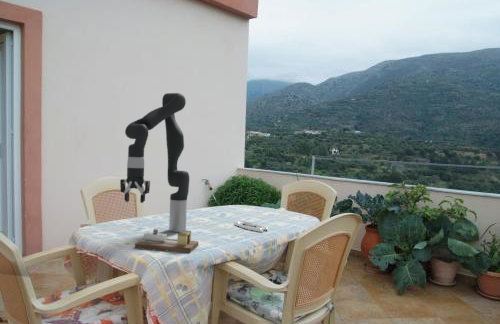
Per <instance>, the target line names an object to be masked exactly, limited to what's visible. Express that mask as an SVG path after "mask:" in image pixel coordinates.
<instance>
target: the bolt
mask: <svg viewBox="0 0 500 324" xmlns="http://www.w3.org/2000/svg"><path fill="white" fill-rule="evenodd" d="M143 239H144V240H147V241H158V242H165V241H167V239H168V234H167V233H161V232H160V233H159V229H157V228H154V229H153V231H152V232H147V231H146V232H145V233H143Z"/></svg>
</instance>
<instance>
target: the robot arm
mask: <svg viewBox="0 0 500 324" xmlns="http://www.w3.org/2000/svg"><path fill="white" fill-rule="evenodd" d="M161 103H162V106H161V107H157V108H155V109H153V110H151V111H149V112H148V113H146V114H145V115H144V116H143V117H141V118H138V119H137V120H135V121H132V122H130V123H129V124H128V125H127V126H126V128H125V132H124V133H125V136H126V137H127V138H129V139H130V140H134V143H132V144H129V145H128V151H127V164H126V166H127V167H126V177H127V178H125V179H124V178H122V179H120V180H119V181H120V186H119V187H120V192H121V193H124V201H125V202H127V203H128V202H130V191H131V190H132V189H136V190H138V191H139V193H140V199H139V201H140V202H139V203H140V204H143V203H144V202H145V201H146V194H149V193H150V190H151V189H150V188H151V181H150V180H145V179H144V176H145V147H146V143H147V140H148V137H149V131H151V130H152V129H154V128H155V127H156V126H158V125H160V123H162V122H163V121H164V123H165V125H164V127H165V136H166V150H167V152H166V153H167V183H168V185H169V186H170V187H173V188H177V191H176V192H174V193H171V194H170V197H169V219H168V220H169V221H168V222H169V223H168V230H169V232H174V233H180V232H181V231H183V230H184V231H187V213H188V211H187V209H188V208H187V207H188V195H189V189H190V174H189V172H188V171H185V170H178V162H179V159H180V156H181V154H182V152H183V151H184V148H185V141H184V140H185V139H184V132H183V131H182V129H181V127H180V125H179V124H178V122H177V119H176V116H175V114H176V113H178V112H180V111H182V110H183V109H184V108H185V106H186V103H187V102H186V97H185V96H184V94H182V93H179V92H171V93H170V92H168V93H165V94H163V96H162V100H161ZM126 184H127V186H126ZM143 185H144V186H143Z"/></svg>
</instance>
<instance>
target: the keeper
mask: <svg viewBox="0 0 500 324" xmlns="http://www.w3.org/2000/svg"><path fill="white" fill-rule="evenodd" d="M176 240H177V246H187V243H191V241H192V230H185V231H184V230H183V231H181V232H177V239H176Z"/></svg>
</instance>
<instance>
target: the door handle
mask: <svg viewBox="0 0 500 324" xmlns="http://www.w3.org/2000/svg"><path fill="white" fill-rule="evenodd" d="M233 224H234V225H235V226H236V227H238V226H239V227H238V228H241V229H244V228H245V230H247V229H248V230H249V231H251V230H253V231H252V232H256V231H258V232H257V233H262V232H263V233H264V230H267V231H268V232H269V228H268V227H267V226H265V225H264V226H263V225H262V224H257V223H254V222H249V221H246V220H238V221H234V222H233ZM243 224H246V225H243ZM249 225H252V226H249ZM253 226H256V227H253ZM257 227H259V228H257ZM248 230H247V231H248ZM262 230H263V231H262ZM267 231H266V232H267Z"/></svg>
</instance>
